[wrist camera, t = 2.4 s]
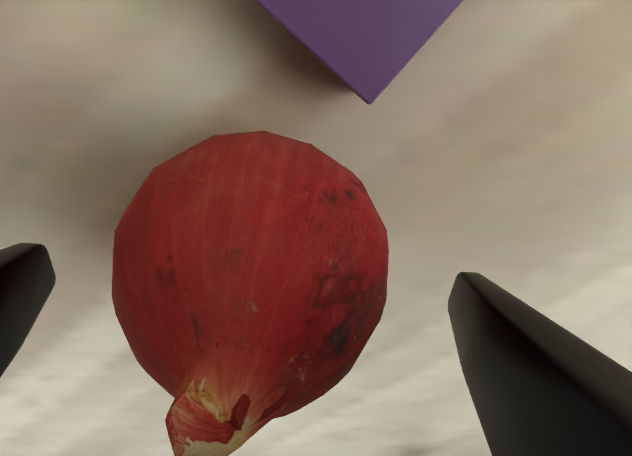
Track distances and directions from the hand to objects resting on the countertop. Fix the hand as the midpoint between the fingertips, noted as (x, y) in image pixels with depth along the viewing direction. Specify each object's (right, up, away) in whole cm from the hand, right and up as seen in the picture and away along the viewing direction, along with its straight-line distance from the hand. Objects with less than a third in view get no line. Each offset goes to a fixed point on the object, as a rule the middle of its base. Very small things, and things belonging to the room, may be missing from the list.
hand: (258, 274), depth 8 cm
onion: (0, +2, +4) cm, 4 cm away
